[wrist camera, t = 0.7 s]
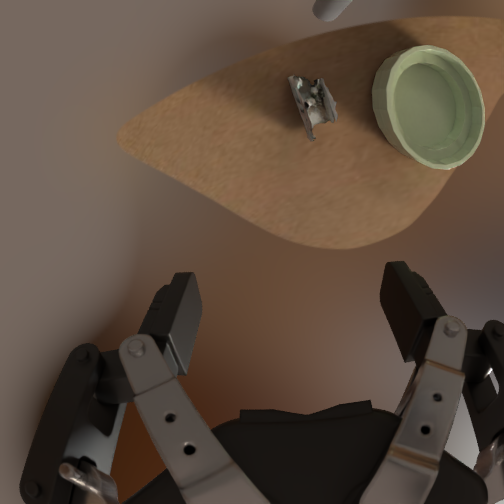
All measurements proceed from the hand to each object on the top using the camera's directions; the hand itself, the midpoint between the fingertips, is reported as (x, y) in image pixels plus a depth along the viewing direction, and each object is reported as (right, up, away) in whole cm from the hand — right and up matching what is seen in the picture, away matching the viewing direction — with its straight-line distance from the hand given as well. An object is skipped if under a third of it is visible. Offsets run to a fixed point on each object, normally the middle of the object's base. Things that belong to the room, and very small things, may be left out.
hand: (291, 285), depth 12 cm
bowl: (+20, +20, +16) cm, 33 cm away
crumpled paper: (+5, +19, +18) cm, 26 cm away
